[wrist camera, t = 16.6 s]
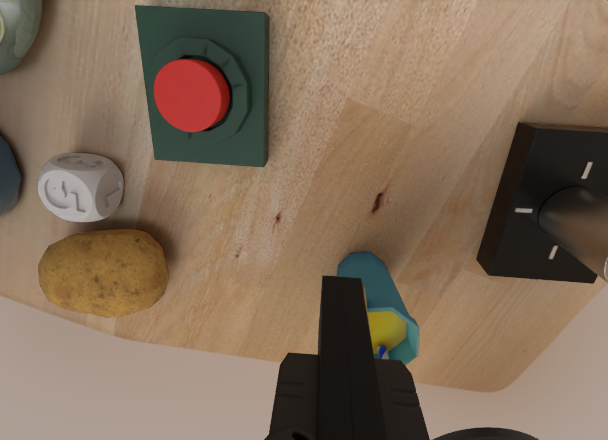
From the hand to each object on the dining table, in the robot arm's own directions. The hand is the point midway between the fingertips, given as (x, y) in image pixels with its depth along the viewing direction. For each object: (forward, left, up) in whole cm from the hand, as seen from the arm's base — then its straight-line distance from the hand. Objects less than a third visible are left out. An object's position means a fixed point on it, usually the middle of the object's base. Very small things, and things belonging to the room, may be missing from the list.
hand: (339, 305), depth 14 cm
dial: (-2, -21, -18) cm, 27 cm away
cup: (-12, -5, -21) cm, 25 cm away
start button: (+6, +11, -17) cm, 21 cm away
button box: (+6, +11, -21) cm, 24 cm away
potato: (-12, +22, -21) cm, 33 cm away
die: (-3, +23, -21) cm, 31 cm away
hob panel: (-2, -21, -21) cm, 30 cm away
